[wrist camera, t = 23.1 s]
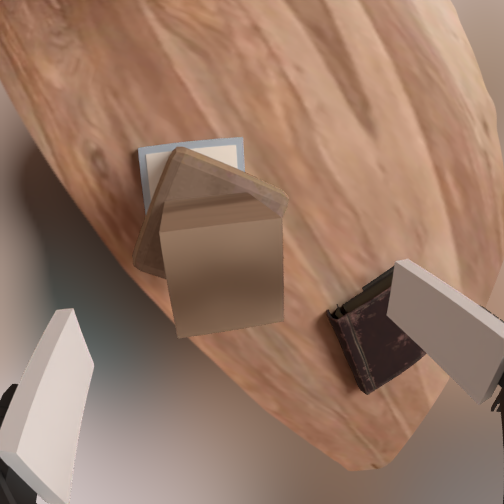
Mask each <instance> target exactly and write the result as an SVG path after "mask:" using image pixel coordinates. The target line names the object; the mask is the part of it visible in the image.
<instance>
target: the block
mask: <svg viewBox="0 0 504 504" xmlns="http://www.w3.org/2000/svg"><path fill="white" fill-rule="evenodd" d="M244 192H248V193H249V194H251V195H252V196H253V197H255V198H256V199H258V200H259V201H260V202H262V203H263V204H264V205H266V206H267V207H268V208H270V209H271V210H272V211H274V212H275V213H276V214H278V215H279V216H280V217H282V218H283V215H284V213H285V211H286V209H287V207H288V200H289V198H288V196H287V195H286V194H285V192H284V191H283V190H281V189H279V188H277V187H275V186H273V185H271V184H269V183H267V182H265V181H263V180H261V179H258V178H256V177H254V176H252V175H250V174H248V173H246V172H243V171H241V170H239V169H237V168H234V167H232V166H230V165H227V164H225V163H222V162H220V161H218V160H215V159H213V158H210V157H208V156H205V155H203V154H200V153H198V152H195V151H193V150H190V149H188V148H185V147H176V148H175V149H174V150H173V151H172V152H171V154H170V155H169V157H168V159H167V162H166V164H165V167H164V169H163V172H162V174H161V177H160V179H159V182H158V184H157V187H156V189H155V192H154V195H153V197H152V200H151V203H150V205H149V208H148V211H147V214H146V216H145V219H144V222H143V225H142V228H141V231H140V234H139V237H138V240H137V243H136V246H135V249H134V252H133V255H132V257H133V265H134V266H135V267H136V268H137V269H139V270H140V271H143V272H146V273H149V274H152V275H155V276H158V277H161V278H164V279H166V273H165V267H164V261H163V255H162V248H161V242H160V235H159V231H160V225H161V219H162V214H163V208H164V203H165V201H172V200H180V199H188V198H196V197H205V196H214V195H224V194H233V193H244Z"/></svg>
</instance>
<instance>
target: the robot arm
mask: <svg viewBox="0 0 504 504" xmlns="http://www.w3.org/2000/svg"><path fill="white" fill-rule="evenodd" d="M387 316H388V317H389V318H390V319H391V320H392V321H393V322H394V323H395V324H396V325H398V326H399V327H400V328H401V329H402V330H403V331H404V332H405V333H406V334H407V335H408V336H409V337H410V338H411V339H412V340H413V341H414V342H415V343H417V344H418V345H419V346H420V347H421V348H422V349H423V350H424V351H425V352H426V353H427V354H428V355H429V356H430V357H431V358H432V359H433V360H434V361H435V362H436V363H437V364H438V365H439V366H440V367H441V368H442V369H443V370H444V371H445V372H446V373H447V374H448V375H449V376H450V377H451V378H452V379H453V380H454V381H455V382H456V383H457V384H458V385H459V386H460V387H461V388H462V389H464V391H465V392H466V393H467V394H468V395H469V396H470V397H471V398H472V399H473V400H474V401H475V402H476V403H477V404H478V405H480V404H482V403H483V402H484V401H486V400H487V399H489V398H490V397H491V396H492V394H493V393H494V391H495V389H496V387H497V385H500V386H501V387H502V389H501V391H500V393H499V395H498V396H497V398H496V400H495V402H494V403H493V405H492V407H491V411H494V409H495V407H496V406H497V404H499V403H500V406H499V407H498V409H497V412H501V418H502V430H503V446H504V322H503V321H502V320H501V319H500V320H499V318H498V317H497V316H495V315H494V314H491V312H490V311H488V310H487V309H485V308H484V307H483V306H480V305H478V304H476V303H475V302H473V301H472V300H470V299H469V298H468V297H466V296H465V295H463V294H462V293H460V292H459V291H457V290H456V289H454V288H453V287H451V286H450V285H448V284H447V283H445V282H444V281H442V280H440V279H439V278H437V277H436V276H434V275H433V274H431V273H430V272H428V271H426V270H425V269H423V268H422V267H420V266H419V265H417V264H415V263H414V262H412V261H411V260H409V259H405V260H399V261H395V265H394V272H393V279H392V286H391V292H390V299H389V305H388V310H387ZM93 369H94V363H93V360H92V358H91V356H90V353H89V350H88V348H87V345H86V343H85V340H84V337H83V335H82V332H81V329H80V326H79V324H78V321H77V318H76V315H75V312H74V309H73V308H71V309H61V310H56V312H55V313H54V315H53V317H52V319H51V320H50V322H49V324H48V326H47V328H46V330H45V331H44V333H43V335H42V337H41V339H40V341H39V343H38V345H37V347H36V349H35V351H34V353H33V355H32V357H31V359H30V361H29V363H28V365H27V367H26V369H25V371H24V373H23V376H22V378H21V380H20V382H19V384H12V385H11V386H10V387H9V388H8V389H7V390H6V392H5V393H4V394H3V395H2V398H1V400H0V504H37V503H36V498H37V494H38V495H39V496H40V497H41V498H42V499H43V500H44V501H45V502H47V503H50V504H69V503H70V493H71V484H72V476H73V469H74V462H75V456H76V449H77V444H78V437H79V432H80V427H81V422H82V417H83V412H84V407H85V402H86V398H87V393H88V389H89V385H90V380H91V377H92V373H93ZM503 499H504V497H503ZM503 504H504V500H503Z"/></svg>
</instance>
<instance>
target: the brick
mask: <svg viewBox="0 0 504 504" xmlns="http://www.w3.org/2000/svg"><path fill="white" fill-rule="evenodd" d="M159 235H160V242H161V248H162V255H163V261H164V267H165V273H166V279H167V284H168V290H169V295H170V301H171V306H172V311H173V316H174V321H175V326H176V331H177V336H178V338H184V337H192V336H199V335H206V334H212V333H219V332H225V331H231V330H238V329H244V328H249V327H255V326H261V325H266V324H272V323H277V322H283V321H284V277H283V227H282V217H280V216H279V215H278V214H276V213H275V212H274V211H272V210H271V209H270V208H268V207H267V206H266V205H264V204H263V203H262V202H260V201H259V200H258V199H256V198H255V197H253V196H252V195H251V194H249V193H248V192H244V193H233V194H224V195H214V196H205V197H196V198H188V199H180V200H172V201H165V203H164V208H163V214H162V219H161V225H160V231H159Z"/></svg>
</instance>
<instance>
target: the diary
mask: <svg viewBox="0 0 504 504" xmlns="http://www.w3.org/2000/svg"><path fill="white" fill-rule="evenodd" d="M393 272H394V266H393V267H392V268H390V269H389V270H387V271H386V272H385V273H383V274H382V275H380V276H379V277H377V278H376V279H374V280H373V281H371V282H370V283H368V284H367V285H366V286H364V287H363V292H362V293H360V294H359V295H357V296H356V297H354V298H352V299H351V300H349V301H348V302H346V303H345V304H343V307H344V309H345V312H346V314H345V315H342V313H341V311H340V308H339V307H338V305H337V307H338V308H337V310H336V313H335V315H336V317H337V319H334V318H332V316H331V314H330V312H329V310H327V316H328V318H329V320H330V322H331V324H332V326H333V329H334V331H335V333H336V335H337V337H338V339H339V342H340V344H341V347H342V349H343V351H344V354H345V356H346V359H347V361H348V363H349V365H350V367H351V369H352V372H353V374H354V376H355V379H356V382H357V384H358V387H359V388H360V390H361V391H363V392H364V393H365V394H366V395H368V394H370V393H371V392H373V391H374V390H375V389H378V388H379V387H381V386H382V385H384V384H385V383H387V382H389V381H390V380H392V379H393V378H395V377H397V376H398V375H400V374H401V373H402V372H404V371H405V370H407V369H408V368H409V367H411V366H412V365H413V364H415V363H416V362H417V361H418V360H420V359H421V358H422V357H423V356H424V355H425V354H426V352H425V351H424V350H423V349H422V348H421V347H420V346H419V345H418V344H417V343H415V342H414V341H413V340H412V339H411V338H410V337H409V336H408V335H407V334H406V333H405V332H404V331H403V330H402V329H401V328H400V327H399V326H398V325H396V324H395V323H394V322H393V321H392V320H391V319H390V318H389V317H388V316H387V310H388V305H389V299H390V292H391V286H392V279H393Z"/></svg>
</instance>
